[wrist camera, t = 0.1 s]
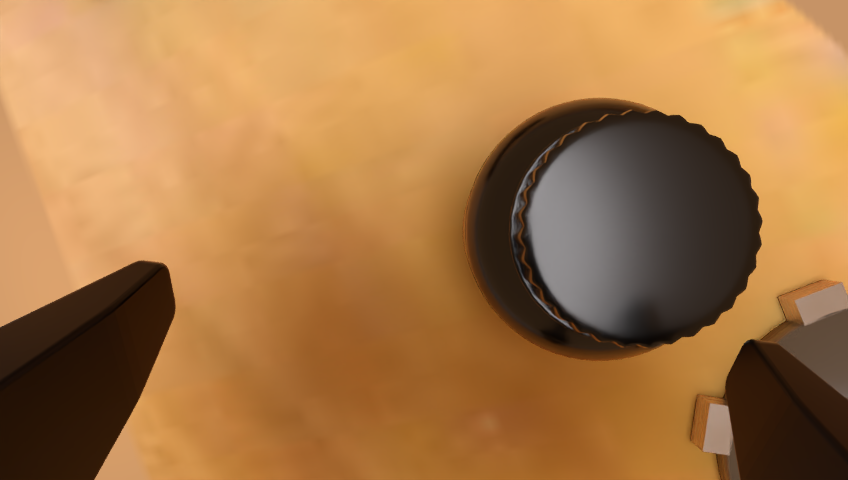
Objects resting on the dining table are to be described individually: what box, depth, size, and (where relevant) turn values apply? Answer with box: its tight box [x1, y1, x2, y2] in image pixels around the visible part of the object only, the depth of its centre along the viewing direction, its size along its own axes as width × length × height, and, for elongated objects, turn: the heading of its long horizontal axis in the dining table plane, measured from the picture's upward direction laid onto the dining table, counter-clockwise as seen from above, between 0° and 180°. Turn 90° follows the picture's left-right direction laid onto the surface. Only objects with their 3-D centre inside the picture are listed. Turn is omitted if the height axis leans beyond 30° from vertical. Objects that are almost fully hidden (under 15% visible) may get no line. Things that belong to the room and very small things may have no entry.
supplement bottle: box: [463, 98, 762, 361], centre depth 18 cm, size 7×7×12 cm
